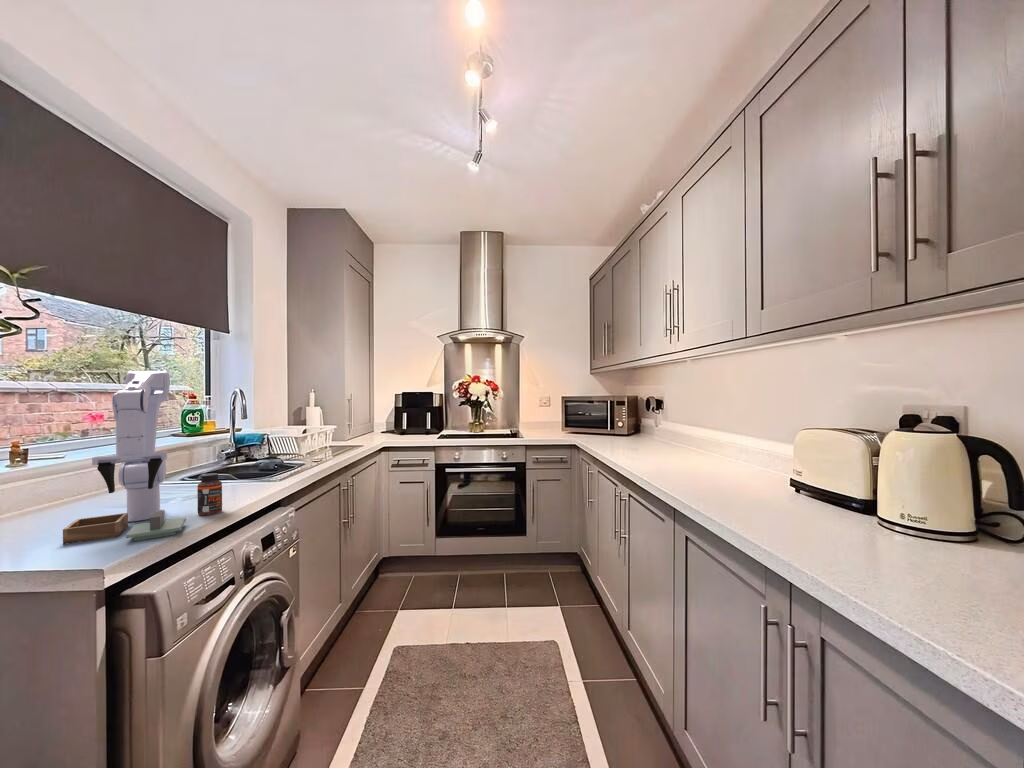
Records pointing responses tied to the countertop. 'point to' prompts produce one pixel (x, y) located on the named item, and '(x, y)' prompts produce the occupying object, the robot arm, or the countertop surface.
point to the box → (95, 528)
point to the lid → (156, 527)
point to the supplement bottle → (209, 495)
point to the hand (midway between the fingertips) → (131, 490)
